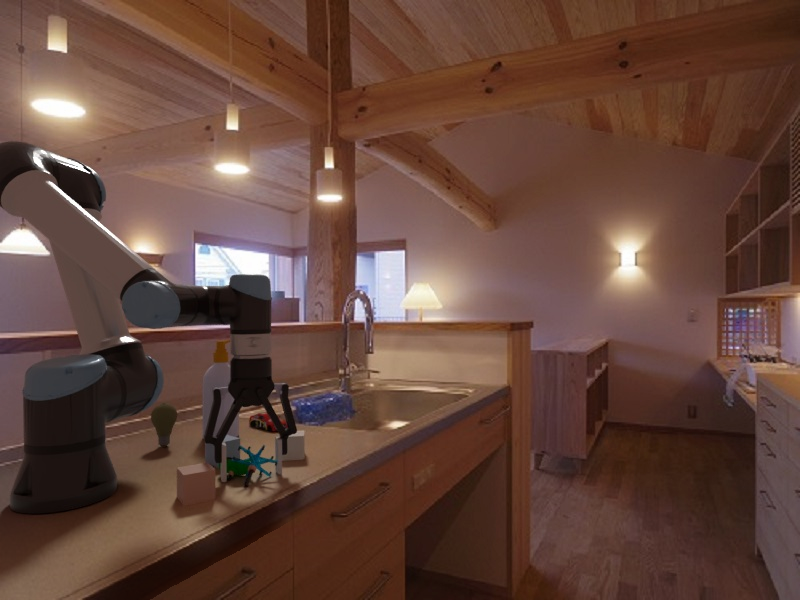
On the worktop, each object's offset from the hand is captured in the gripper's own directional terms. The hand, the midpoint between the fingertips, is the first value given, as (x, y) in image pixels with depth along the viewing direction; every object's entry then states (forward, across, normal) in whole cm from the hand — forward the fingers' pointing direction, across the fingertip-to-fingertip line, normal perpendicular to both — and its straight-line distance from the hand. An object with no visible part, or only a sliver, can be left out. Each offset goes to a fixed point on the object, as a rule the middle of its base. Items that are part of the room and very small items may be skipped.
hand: (251, 475), depth 97 cm
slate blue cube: (0, -4, +12) cm, 13 cm away
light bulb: (0, -15, +31) cm, 35 cm away
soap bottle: (0, -2, +35) cm, 35 cm away
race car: (+1, +10, +40) cm, 41 cm away
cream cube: (0, +10, +10) cm, 14 cm away
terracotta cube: (0, -10, -7) cm, 12 cm away
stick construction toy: (+1, -2, -1) cm, 2 cm away
